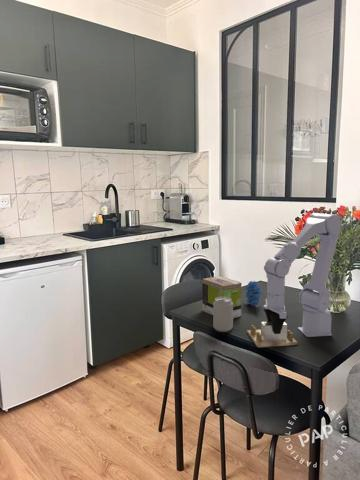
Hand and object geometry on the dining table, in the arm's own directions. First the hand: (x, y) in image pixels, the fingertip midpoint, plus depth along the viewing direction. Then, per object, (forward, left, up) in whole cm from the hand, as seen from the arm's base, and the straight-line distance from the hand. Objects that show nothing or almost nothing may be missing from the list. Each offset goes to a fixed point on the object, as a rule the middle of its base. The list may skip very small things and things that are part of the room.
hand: (274, 330), depth 124 cm
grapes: (-5, -37, -4) cm, 38 cm away
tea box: (+12, -30, -4) cm, 33 cm away
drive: (0, 0, -3) cm, 3 cm away
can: (+15, -14, -4) cm, 21 cm away
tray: (0, -3, -4) cm, 5 cm away
